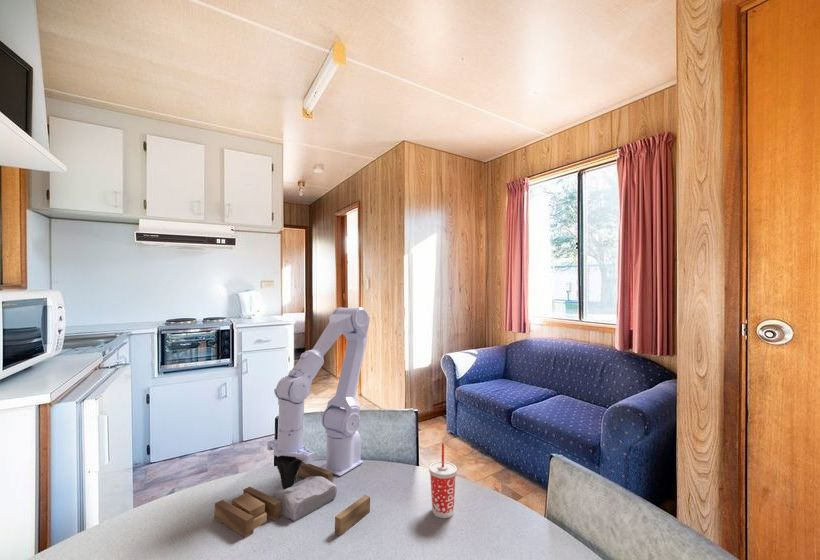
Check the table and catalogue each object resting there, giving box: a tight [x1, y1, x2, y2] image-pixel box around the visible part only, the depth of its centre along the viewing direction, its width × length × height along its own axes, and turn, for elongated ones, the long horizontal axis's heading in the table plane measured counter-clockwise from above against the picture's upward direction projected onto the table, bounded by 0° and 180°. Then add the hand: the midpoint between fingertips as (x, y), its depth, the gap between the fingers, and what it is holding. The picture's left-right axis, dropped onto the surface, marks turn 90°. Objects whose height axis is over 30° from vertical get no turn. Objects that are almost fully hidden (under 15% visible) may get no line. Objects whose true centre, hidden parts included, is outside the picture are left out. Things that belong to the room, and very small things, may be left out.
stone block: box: [273, 476, 338, 522], centre depth 74 cm, size 12×5×10 cm
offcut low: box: [253, 512, 268, 531], centre depth 67 cm, size 4×8×2 cm, turn 58°
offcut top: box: [231, 493, 265, 519], centre depth 67 cm, size 3×7×2 cm, turn 55°
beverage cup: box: [428, 442, 458, 519], centre depth 71 cm, size 6×6×14 cm
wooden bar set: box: [214, 461, 371, 539], centre depth 70 cm, size 23×26×3 cm
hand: (288, 487), depth 77 cm, fingers closed
